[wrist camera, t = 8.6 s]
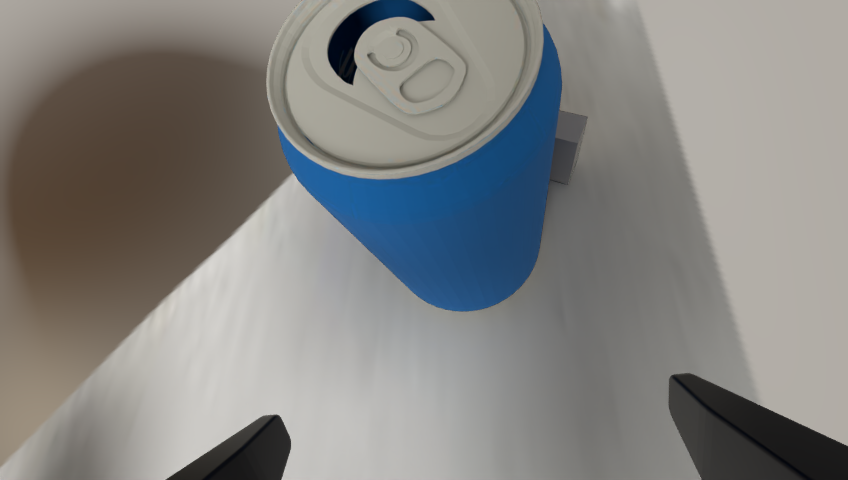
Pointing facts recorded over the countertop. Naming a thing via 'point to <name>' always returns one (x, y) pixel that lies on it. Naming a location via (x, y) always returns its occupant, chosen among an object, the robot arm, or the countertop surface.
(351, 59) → the beverage can
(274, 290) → the countertop surface
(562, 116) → the rail
